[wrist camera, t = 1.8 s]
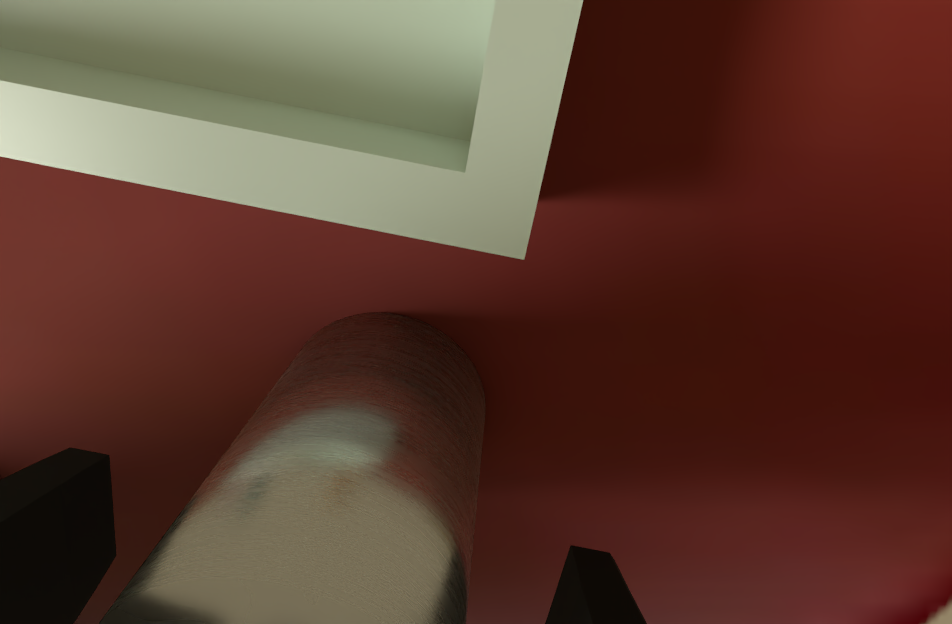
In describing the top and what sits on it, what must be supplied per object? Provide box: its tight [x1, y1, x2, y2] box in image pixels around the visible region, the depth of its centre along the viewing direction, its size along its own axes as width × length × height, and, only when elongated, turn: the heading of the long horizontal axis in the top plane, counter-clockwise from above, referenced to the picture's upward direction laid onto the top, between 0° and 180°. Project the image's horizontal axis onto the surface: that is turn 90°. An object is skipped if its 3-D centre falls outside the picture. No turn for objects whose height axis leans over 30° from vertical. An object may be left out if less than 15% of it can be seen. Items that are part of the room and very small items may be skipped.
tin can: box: [99, 313, 485, 624], centre depth 10 cm, size 4×4×7 cm
